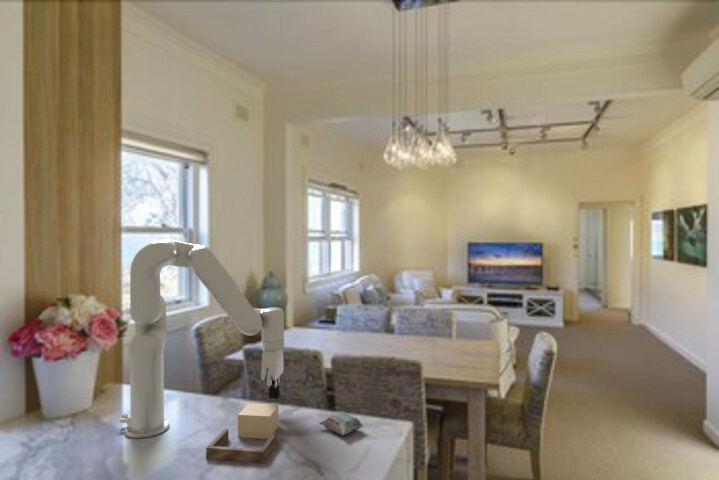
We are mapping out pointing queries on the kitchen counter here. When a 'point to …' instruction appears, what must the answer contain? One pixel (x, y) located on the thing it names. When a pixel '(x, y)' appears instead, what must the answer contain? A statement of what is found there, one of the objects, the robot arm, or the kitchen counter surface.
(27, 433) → the kitchen counter surface
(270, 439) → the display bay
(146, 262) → the robot arm
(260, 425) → the carton
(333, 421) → the packaged food
